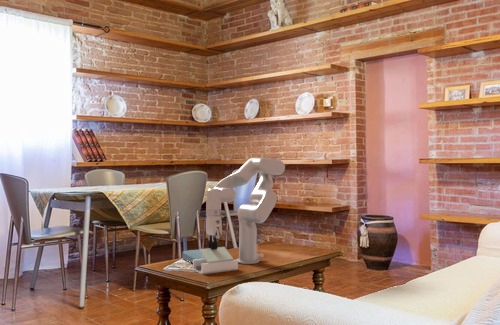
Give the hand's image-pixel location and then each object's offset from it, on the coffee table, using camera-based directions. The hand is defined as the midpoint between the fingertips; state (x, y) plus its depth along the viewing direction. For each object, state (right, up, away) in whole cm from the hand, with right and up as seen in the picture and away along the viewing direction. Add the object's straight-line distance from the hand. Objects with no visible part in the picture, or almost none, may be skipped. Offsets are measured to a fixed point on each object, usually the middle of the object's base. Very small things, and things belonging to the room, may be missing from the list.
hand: (212, 248), depth 243 cm
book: (-6, -11, +16) cm, 20 cm away
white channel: (+1, -10, -2) cm, 11 cm away
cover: (+2, -3, -3) cm, 5 cm away
